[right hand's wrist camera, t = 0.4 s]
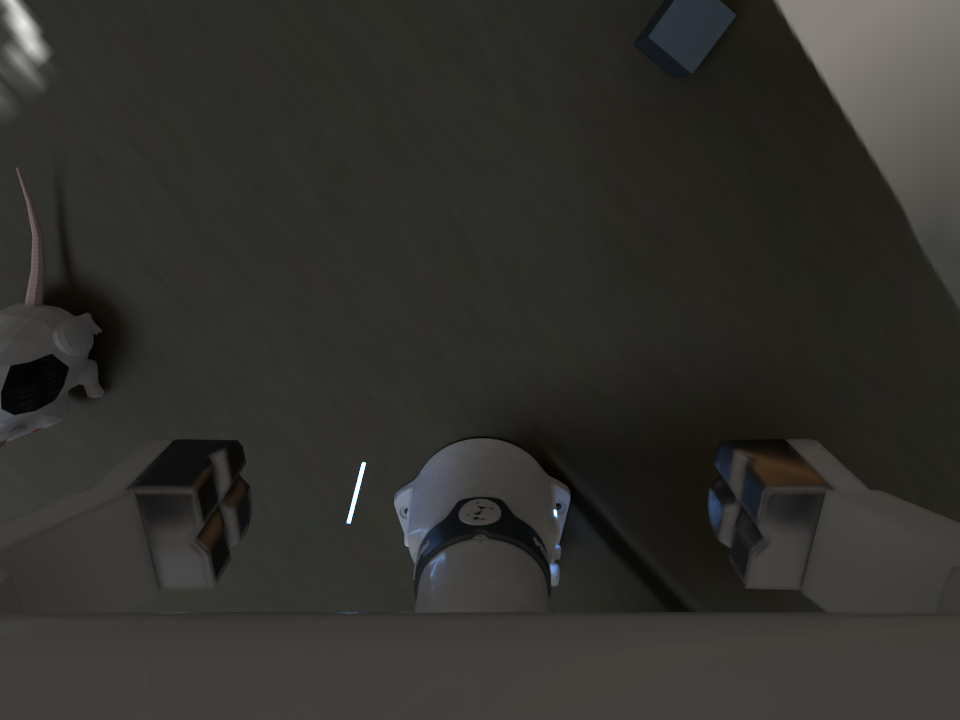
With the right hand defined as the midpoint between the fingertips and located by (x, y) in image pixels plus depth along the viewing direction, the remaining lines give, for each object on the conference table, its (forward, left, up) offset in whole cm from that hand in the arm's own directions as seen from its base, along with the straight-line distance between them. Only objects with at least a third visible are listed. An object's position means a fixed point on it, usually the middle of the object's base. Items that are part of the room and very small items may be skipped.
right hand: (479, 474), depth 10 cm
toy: (-8, +40, -46) cm, 61 cm away
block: (+12, -16, -46) cm, 50 cm away
